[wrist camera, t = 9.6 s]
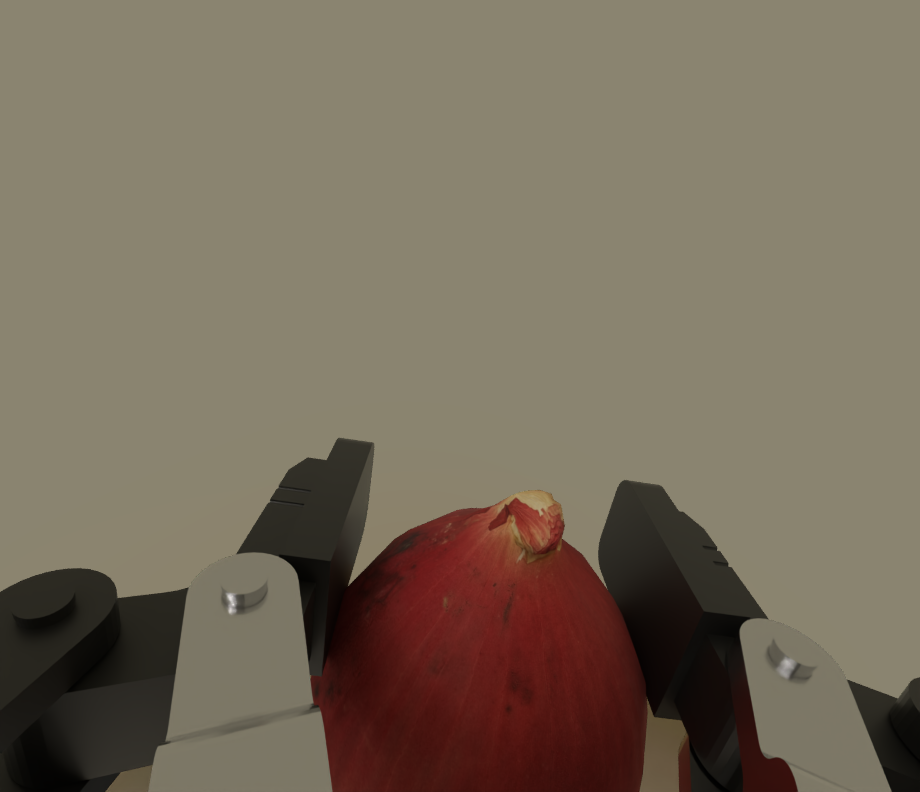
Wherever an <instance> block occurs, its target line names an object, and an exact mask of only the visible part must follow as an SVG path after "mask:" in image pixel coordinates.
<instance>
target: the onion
mask: <svg viewBox="0 0 920 792" xmlns="http://www.w3.org/2000/svg"><path fill="white" fill-rule="evenodd" d="M564 527H565V525H564V519H563V513H562V508H561V504H559V503H558V502H556V501H555V500H554V499H553V496H552V494H550V493H547V492H544V491H541V490H529V491H524V492H519V493H517V494H514V495H512V496H510V497H508V498H506V499H504V500H503V501H501V502H499V503H498V504H496V505H494V506H490V507H487V508H468V509H461V510H456V511H454V512H451V513H449V514H447V515H444V516H442V517H439V518H437V519H435V520H432V521H430V522H427V523H425V524H422V525H420V526H417V527H415V528H413V529H410V530H408V531H407V532H405V533H404V534H402V535H400V536H399V537H397V538H396V539H394V540H393V541H392V542H391V543H390V544H389V545H388V546H387V547H386V549H384V550H383V551H382V552H381V554H379V555H378V556H377V557H376V558H375V560H374V561H373V562H372V563H371V564H370V565H369V566H368V567H367V568H366V569H365V570H364V571H363V572H362V573H361V574H360V575H359V576H358V577H357V578H356V579H355V580H354V581H353V582H352V583H351V584H350V585H349V586H348V587H347V588H346V589H345V592H344V596H343V599H342V603H341V607H340V611H339V614H338V618H337V622H336V625H335V629H334V633H333V637H332V640H331V644H330V648H329V652H328V656H327V660H326V663H325V667H324V670H323V674H322V677H321V676H313V675H312V676H311V680H310V681H311V690H312V697H313V703H314V705H319V707H320V710H321V715H322V720H323V725H324V732H325V739H326V747H327V754H328V762H329V770H330V777H331V785H332V792H639V790H640V785H641V780H642V775H643V765H644V752H645V738H646V725H647V696H646V682H645V679H644V676H643V673H642V670H641V667H640V663H639V660H638V657H637V654H636V651H635V649H634V646H633V643H632V640H631V637H630V635H629V632H628V629H627V626H626V623H625V621H624V618H623V615H622V613H621V611H620V610H619V608H618V606H617V604H616V602H615V600H614V598H613V597H612V595H611V594H610V593H609V591H608V590H607V588H606V587H605V586H604V584H603V583H602V581H601V580H600V579H599V577H598V576H597V574H596V573H595V572H594V570H593V569H592V567H591V566H590V565H589V563H588V562H587V560H586V559H585V558H584V557H583V555H582V554H581V553H580V552H579V551H577V550H576V549H575V548H573V547H572V546H571V545H569V544H568V543H567V542H566V541H564V540H563V539H562V535H563V531H564Z"/></svg>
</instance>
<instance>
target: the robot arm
mask: <svg viewBox="0 0 920 792" xmlns="http://www.w3.org/2000/svg"><path fill="white" fill-rule="evenodd" d="M373 455H374V443H372V442H365V441H358V440H351V439H344V438H338V439H337V440H336V442H335V445H334V446H333V448H332V451H331V452H330V454H329V457H328V458H327V460H321V459H313V458H306V459H305V460H303V461H302V462H300V463H298V464H297V465H295V466H294V467H292V468H291V469H289V470H288V472H287V473H286V475H285V477H284V478H283V480H282V481H281V483H280V485H279V488H278V489H276V491H275V493H274V494H273V496H272V497H271V499H270V503H268V504H267V506H266V507H265V509H264V510H263V512H262V514H261V515H260V517H259V518H258V520H257V522H256V523H255V525H254V526H253V528H252V530H251V531H250V533H249V534H248V536H247V538H246V539H245V541H244V543H243V544H242V546H241V547H240V549H239V551H238V552H237V554H236V555H233V556H229V557H226V558H224V559H221V560H219V561H217V562H215V563H213V564H211V565H210V566H208V567H207V568H205V569H204V570H203V571H202V572H201V573H199V574H198V575H197V576H196V578H195V579H194V580H193V582H192V583H191V585H190V587H189V588H185V589H181V590H178V591H173V592H166V593H158V594H149V595H141V596H132V597H124V598H117V590H116V587H115V584H114V583H113V581H112V580H111V579H110V578H109V577H107V576H106V575H105V574H103V573H100V572H98V571H94V570H90V569H81V568H77V569H63V570H55V571H51V572H46V573H42V574H39V575H36V576H33V577H30V578H27V579H25V580H23V581H20V582H18V583H16V584H14V585H12V586H10V587H8V588H6V589H5V590H3V591H1V592H0V792H105V791H106V790H107V789H108V787H109V786H110V785H111V784H112V782H113V781H114V780H115V779H116V777H117V776H118V775H119V774H120V772H123V771H128V770H132V769H136V768H141V767H145V766H149V765H153V767H152V772H151V778H150V784H149V790H148V792H332V785H331V777H330V770H329V762H328V754H327V747H326V739H325V732H324V725H323V720H322V715H321V710H320V707H319V705H314V703H313V697H312V690H311V681H310V675H313V676H321V677H322V674H323V670H324V667H325V663H326V660H327V656H328V652H329V648H330V644H331V640H332V637H333V633H334V629H335V625H336V622H337V618H338V614H339V611H340V607H341V603H342V599H343V596H344V592H345V589H346V588H347V587H348V583H349V580H350V577H351V573H352V570H353V566H354V563H355V560H356V556H357V553H358V549H359V545H360V542H361V538H362V535H363V531H364V527H365V521H366V516H367V510H368V501H369V492H370V483H371V473H372V465H373ZM598 558H599V565H600V570H601V573H602V575H603V578H604V581H605V583H606V586H607V589H608V591H609V593H610V594H611V595H612V597H613V598H614V600H615V602H616V604H617V606H618V608H619V610H620V611H621V613H622V615H623V618H624V621H625V623H626V626H627V629H628V632H629V635H630V637H631V640H632V643H633V646H634V649H635V651H636V654H637V657H638V660H639V663H640V667H641V670H642V673H643V676H644V679H645V682H646V696H647V699H648V701H649V704H650V707H651V710H652V712H653V715H654V717H659V718H667V719H676V720H682V722H683V724H684V727H685V729H686V731H687V732H686V734H685V736H684V738H683V740H682V742H681V744H680V747H679V753H678V761H679V792H920V678H916V679H914V680H912V681H911V682H910V683H909V684H908V686H907V687H906V689H905V690H904V691H903V693H902V694H901V695H900V697H899V698H898V699H897V698H895V697H892V696H889V695H887V694H884V693H881V692H879V691H876V690H873V689H870V688H868V687H865V686H862V685H860V684H857V683H855V682H852V681H849V680H847V679H846V677H845V675H844V673H843V671H842V670H841V668H840V667H839V666H838V664H837V663H836V661H834V659H833V658H832V657H831V656H830V655H829V654H828V653H827V652H826V651H825V650H824V649H823V648H822V647H820V646H819V645H818V644H817V643H816V642H814V641H813V640H811V639H810V638H809V637H807V636H805V635H804V634H802V633H801V632H799V631H797V630H795V629H793V628H791V627H789V626H787V625H785V624H782V623H779V622H776V621H773V620H769V619H768V618H767V616H766V615H765V614H764V612H763V611H762V609H761V608H760V607H759V605H758V604H757V602H756V601H755V599H754V598H753V597H752V595H751V594H750V592H749V591H748V590H747V588H746V587H745V586H744V584H743V583H742V581H741V580H740V579H739V577H738V576H737V574H736V573H735V572H734V570H733V569H732V568H731V567H728V562H727V560H726V559H725V558H724V556H723V555H722V553H721V552H720V551H717V546H716V545H715V544H714V542H713V541H712V539H711V538H710V537H709V535H708V534H707V533H706V531H705V530H704V529H703V528H702V527H701V526H699V524H697V523H696V522H695V521H693V520H692V519H691V518H690V517H689V516H688V515H686V514H685V513H684V512H680V511H678V509H677V508H676V506H675V505H674V503H673V502H672V500H671V499H670V497H669V496H668V494H667V493H666V492H665V490H664V489H663V487H661V486H660V485H655V484H648V483H641V482H635V481H628V480H624V481H622V482H621V483H620V484H619V486H618V488H617V491H616V494H615V497H614V500H613V502H612V505H611V509H610V511H609V514H608V517H607V520H606V523H605V526H604V529H603V532H602V535H601V538H600V542H599V550H598Z"/></svg>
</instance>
